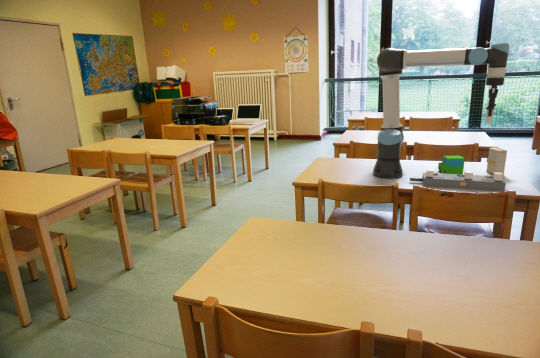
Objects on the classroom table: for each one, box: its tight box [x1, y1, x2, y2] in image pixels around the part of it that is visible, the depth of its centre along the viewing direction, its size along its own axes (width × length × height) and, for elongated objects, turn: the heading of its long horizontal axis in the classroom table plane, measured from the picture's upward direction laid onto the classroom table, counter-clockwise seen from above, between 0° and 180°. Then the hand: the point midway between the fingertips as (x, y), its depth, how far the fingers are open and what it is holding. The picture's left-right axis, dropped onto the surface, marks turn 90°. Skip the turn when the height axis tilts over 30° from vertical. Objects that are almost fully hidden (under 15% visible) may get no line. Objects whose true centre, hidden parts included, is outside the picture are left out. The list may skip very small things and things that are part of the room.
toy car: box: [437, 155, 465, 175], centre depth 192 cm, size 10×13×10 cm
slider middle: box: [463, 170, 474, 179], centre depth 169 cm, size 3×3×3 cm
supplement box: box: [486, 146, 508, 176], centre depth 189 cm, size 8×5×13 cm, turn 179°
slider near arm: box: [425, 168, 435, 177], centre depth 175 cm, size 3×3×3 cm
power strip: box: [409, 172, 507, 192], centre depth 174 cm, size 40×10×4 cm, turn 70°
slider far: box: [492, 172, 504, 181], centre depth 166 cm, size 3×3×3 cm
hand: (489, 121), depth 182 cm, fingers open, 13 cm apart
